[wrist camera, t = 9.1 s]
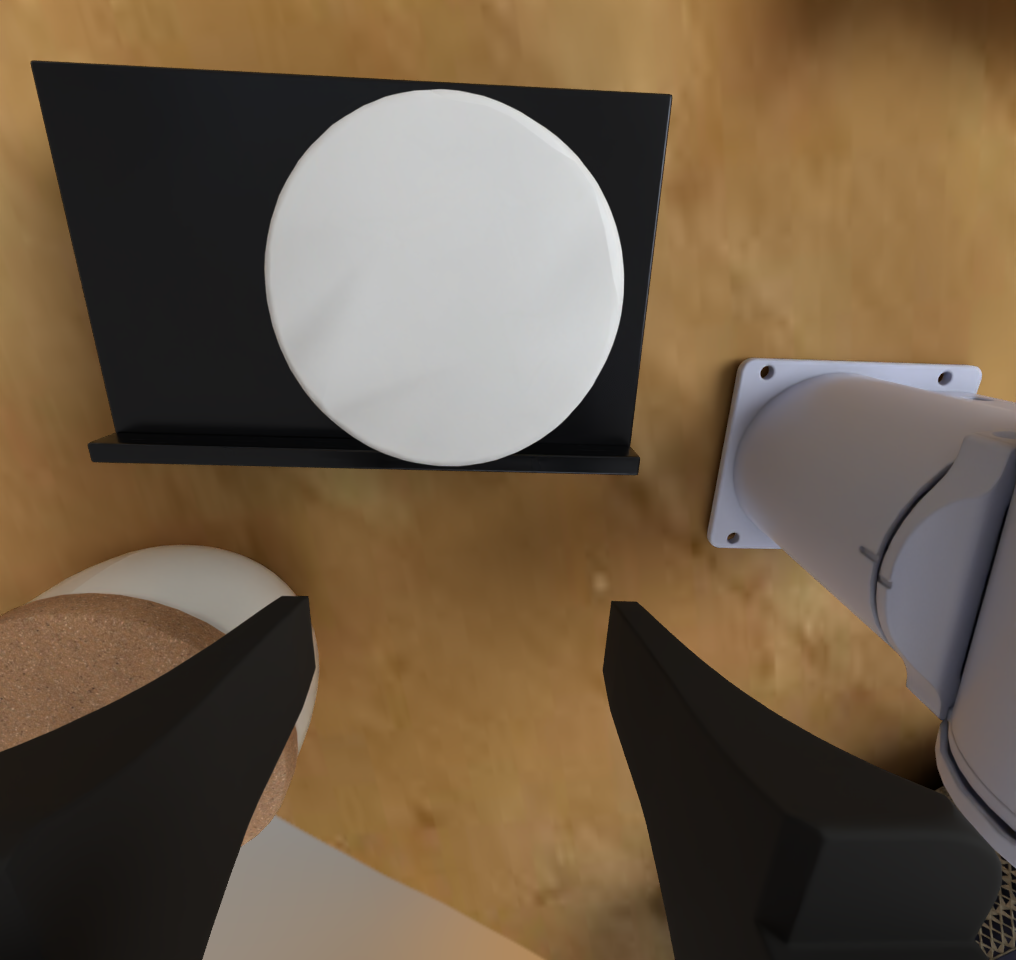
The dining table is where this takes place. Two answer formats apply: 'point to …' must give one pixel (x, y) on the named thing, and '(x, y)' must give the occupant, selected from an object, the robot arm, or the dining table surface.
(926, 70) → the dining table surface
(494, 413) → the supplement bottle
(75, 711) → the trinket box
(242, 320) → the black lipped tray
